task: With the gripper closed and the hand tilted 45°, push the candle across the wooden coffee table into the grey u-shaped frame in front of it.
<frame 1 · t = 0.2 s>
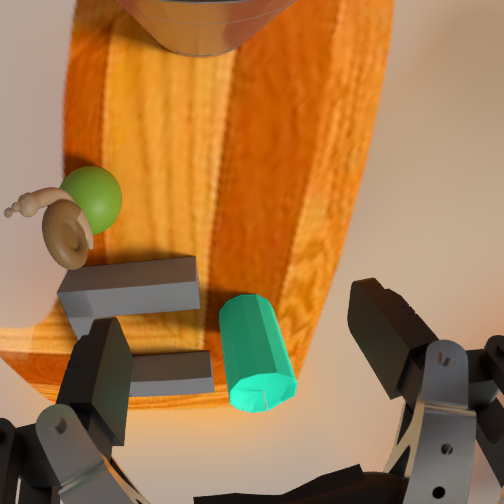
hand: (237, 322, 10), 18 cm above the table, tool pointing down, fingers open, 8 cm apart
grey u-shaped frame: (159, 323, 33), on the table
candle: (245, 314, 34), on the table
snail figurine: (96, 183, 24), on the table
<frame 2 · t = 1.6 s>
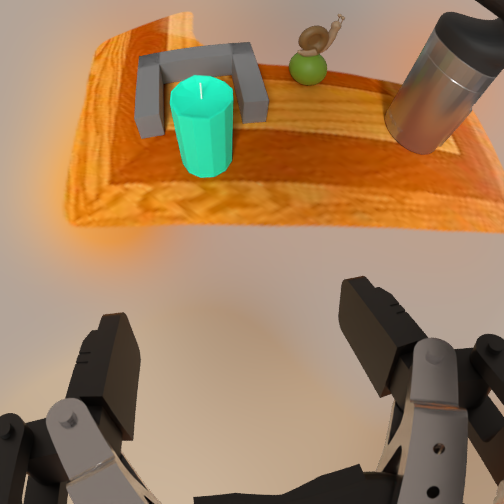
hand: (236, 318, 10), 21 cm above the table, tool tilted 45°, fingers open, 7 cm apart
grey u-shaped frame: (200, 101, 39), on the table
candle: (207, 157, 36), on the table
snail figurine: (307, 80, 42), on the table
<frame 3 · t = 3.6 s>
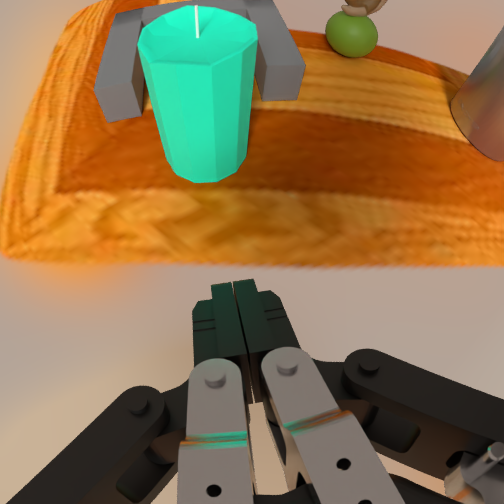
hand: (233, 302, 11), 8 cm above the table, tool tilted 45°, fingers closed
grey u-shaped frame: (198, 70, 25), on the table
candle: (206, 150, 23), on the table
snail figurine: (348, 53, 28), on the table
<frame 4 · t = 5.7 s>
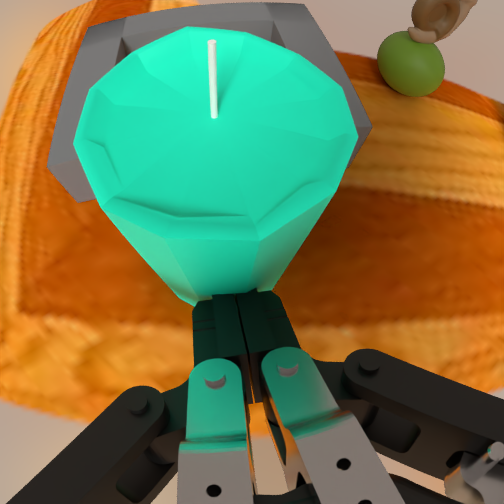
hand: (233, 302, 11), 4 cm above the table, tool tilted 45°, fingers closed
grey u-shaped frame: (204, 114, 18), on the table
candle: (222, 256, 16), on the table, touching gripper
snail figurine: (401, 87, 21), on the table
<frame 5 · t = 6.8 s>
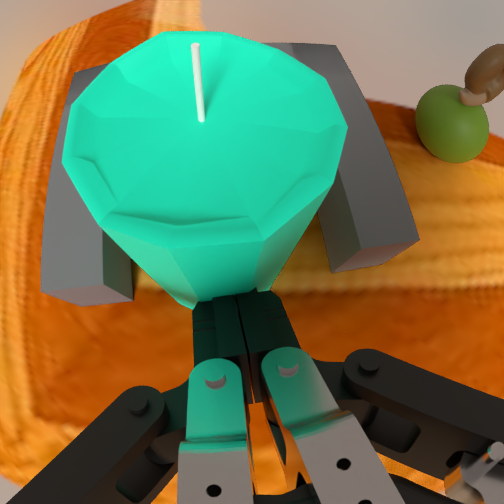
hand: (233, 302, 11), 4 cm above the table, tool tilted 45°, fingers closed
grey u-shaped frame: (220, 195, 17), on the table
candle: (217, 257, 16), on the table, touching gripper
snail figurine: (436, 144, 19), on the table
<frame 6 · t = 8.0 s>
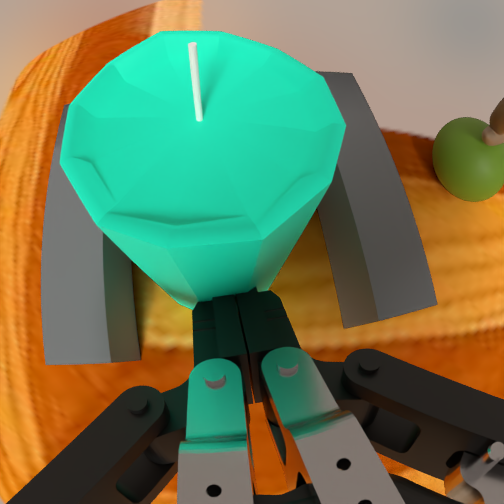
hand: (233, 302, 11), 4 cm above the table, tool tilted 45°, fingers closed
grey u-shaped frame: (228, 246, 16), on the table
candle: (217, 257, 16), on the table, touching gripper
snail figurine: (451, 178, 19), on the table
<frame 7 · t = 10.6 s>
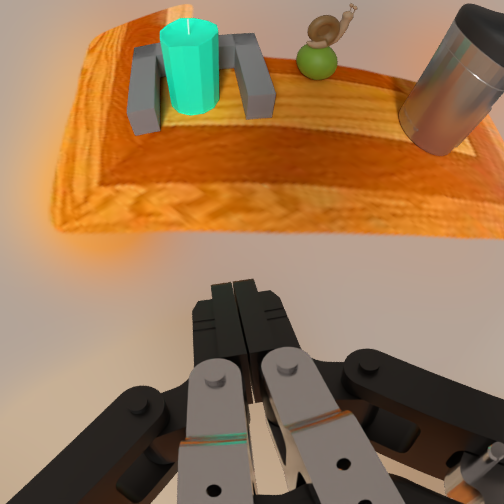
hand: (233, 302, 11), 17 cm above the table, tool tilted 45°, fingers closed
grey u-shaped frame: (199, 95, 35), on the table
candle: (195, 99, 35), on the table
snail figurine: (315, 75, 38), on the table
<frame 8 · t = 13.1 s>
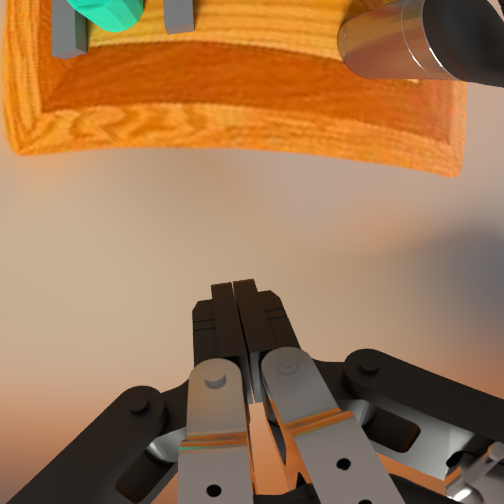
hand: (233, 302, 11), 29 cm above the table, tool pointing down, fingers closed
grey u-shaped frame: (124, 7, 26), on the table
candle: (120, 11, 26), on the table
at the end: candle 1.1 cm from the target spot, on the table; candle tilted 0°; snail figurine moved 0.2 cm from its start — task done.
